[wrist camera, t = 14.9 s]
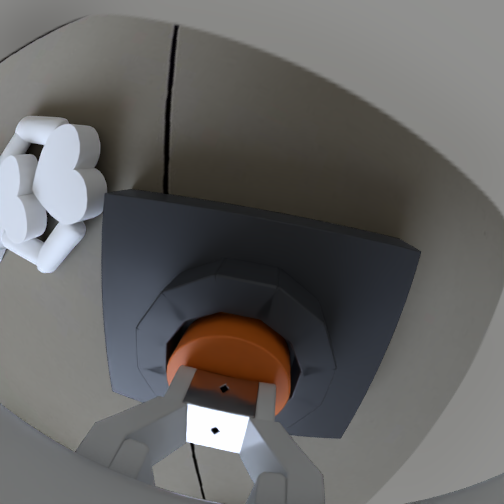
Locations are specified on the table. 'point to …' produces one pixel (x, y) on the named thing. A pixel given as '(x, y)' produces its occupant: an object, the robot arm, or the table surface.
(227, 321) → the button
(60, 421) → the table surface
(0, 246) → the white abstract figurine
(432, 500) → the robot arm
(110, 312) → the control block
